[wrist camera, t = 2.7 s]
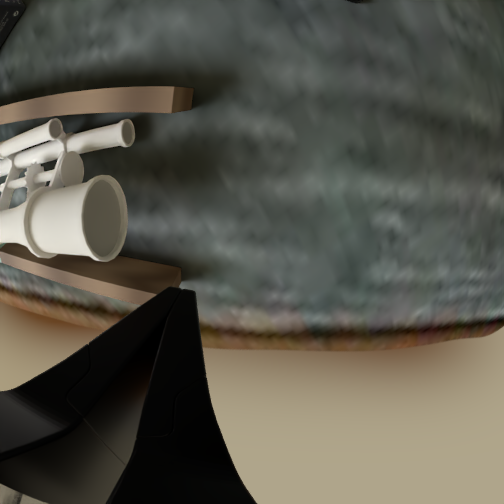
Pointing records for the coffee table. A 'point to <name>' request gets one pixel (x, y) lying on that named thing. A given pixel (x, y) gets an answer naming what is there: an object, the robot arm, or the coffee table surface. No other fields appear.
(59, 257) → the parallel wooden rails
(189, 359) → the robot arm
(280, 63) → the coffee table surface
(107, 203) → the white tube assembly
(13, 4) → the small box
